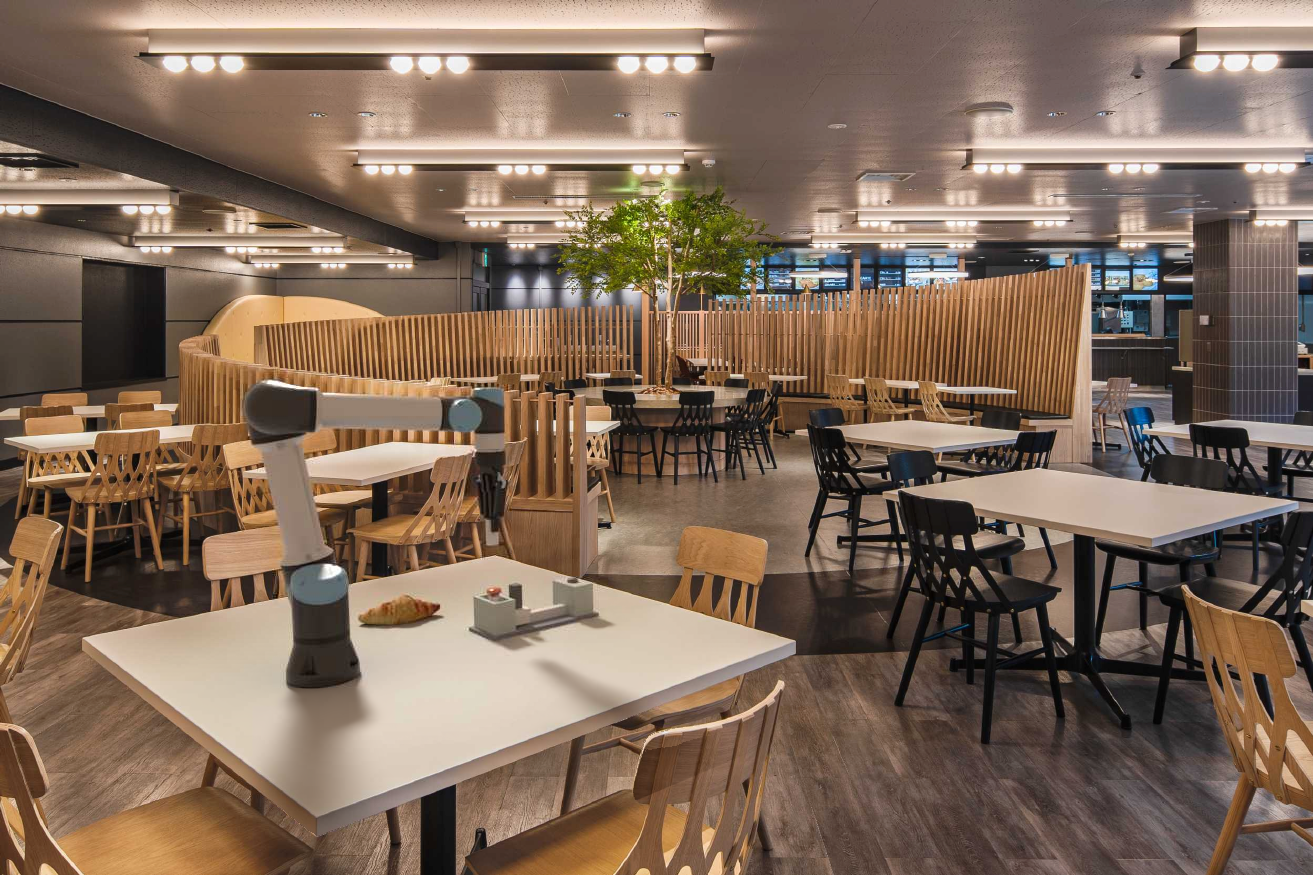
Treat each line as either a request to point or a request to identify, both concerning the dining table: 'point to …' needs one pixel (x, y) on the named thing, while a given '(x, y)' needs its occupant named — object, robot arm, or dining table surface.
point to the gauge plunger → (494, 594)
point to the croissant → (399, 611)
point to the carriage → (519, 604)
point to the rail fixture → (534, 611)
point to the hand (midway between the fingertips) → (492, 544)
